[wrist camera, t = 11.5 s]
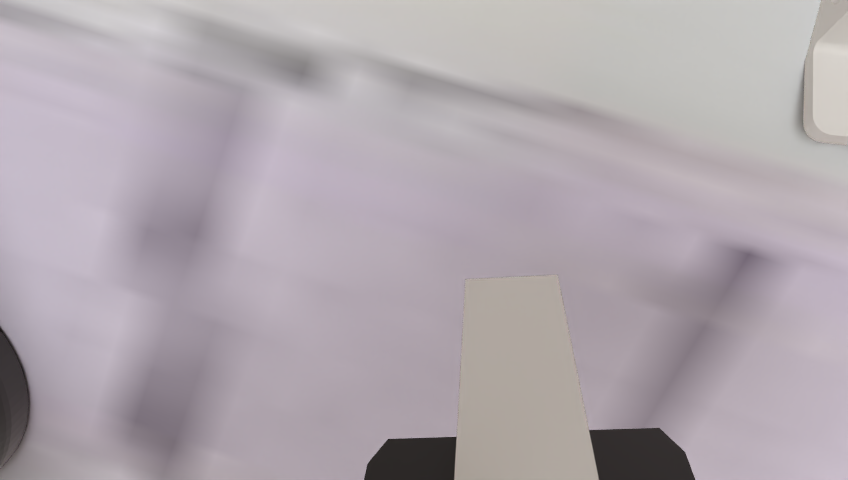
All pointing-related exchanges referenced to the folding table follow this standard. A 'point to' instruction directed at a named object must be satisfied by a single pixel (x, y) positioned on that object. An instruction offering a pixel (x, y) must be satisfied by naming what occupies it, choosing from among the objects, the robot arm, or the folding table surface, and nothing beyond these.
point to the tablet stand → (827, 75)
